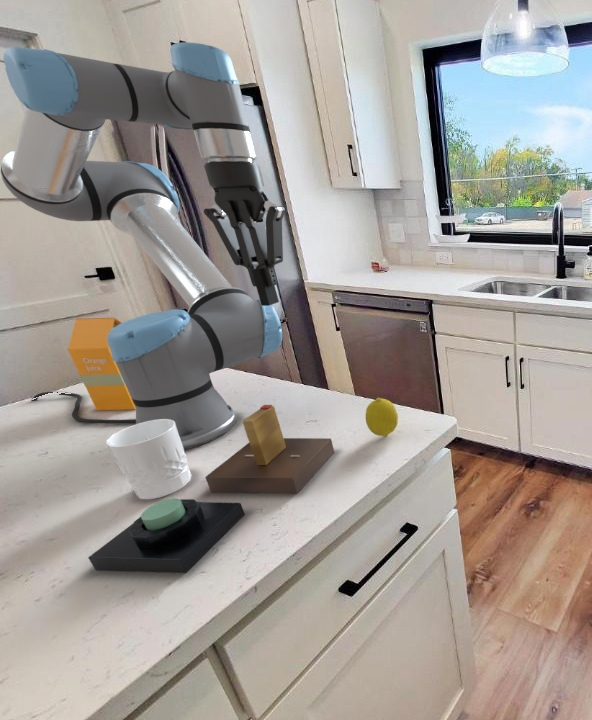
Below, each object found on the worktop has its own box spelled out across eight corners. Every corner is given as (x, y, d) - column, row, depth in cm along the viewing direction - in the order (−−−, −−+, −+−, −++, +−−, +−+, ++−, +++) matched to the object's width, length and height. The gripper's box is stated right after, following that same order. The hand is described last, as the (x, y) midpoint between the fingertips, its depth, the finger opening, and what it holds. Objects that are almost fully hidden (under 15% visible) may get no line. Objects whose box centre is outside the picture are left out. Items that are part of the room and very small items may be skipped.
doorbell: (95, 570, 51) (81, 546, 50) (167, 513, 61) (157, 490, 59) (186, 573, 51) (175, 548, 49) (245, 514, 60) (237, 492, 58)
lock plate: (211, 492, 65) (204, 476, 63) (259, 452, 75) (254, 437, 74) (297, 494, 64) (292, 477, 63) (334, 452, 74) (330, 437, 73)
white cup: (158, 472, 70) (135, 420, 66) (207, 469, 71) (187, 417, 67) (118, 504, 63) (89, 448, 59) (173, 500, 63) (148, 444, 60)
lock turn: (266, 465, 66) (251, 419, 63) (256, 465, 66) (241, 419, 63) (286, 447, 70) (273, 404, 67) (277, 447, 71) (264, 404, 67)
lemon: (391, 445, 75) (383, 406, 73) (363, 443, 77) (355, 404, 74) (406, 429, 80) (399, 392, 78) (380, 427, 82) (373, 390, 79)
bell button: (137, 530, 53) (131, 519, 52) (165, 508, 56) (160, 498, 56) (167, 531, 52) (161, 520, 52) (193, 508, 56) (189, 498, 55)
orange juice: (134, 409, 92) (96, 322, 85) (95, 410, 92) (54, 324, 85) (164, 394, 99) (131, 312, 92) (128, 394, 100) (93, 313, 92)
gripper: (284, 161, 71) (316, 298, 79) (211, 164, 72) (251, 299, 80) (253, 158, 64) (291, 308, 73) (173, 161, 65) (221, 309, 73)
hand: (270, 303), depth 76 cm, fingers closed
